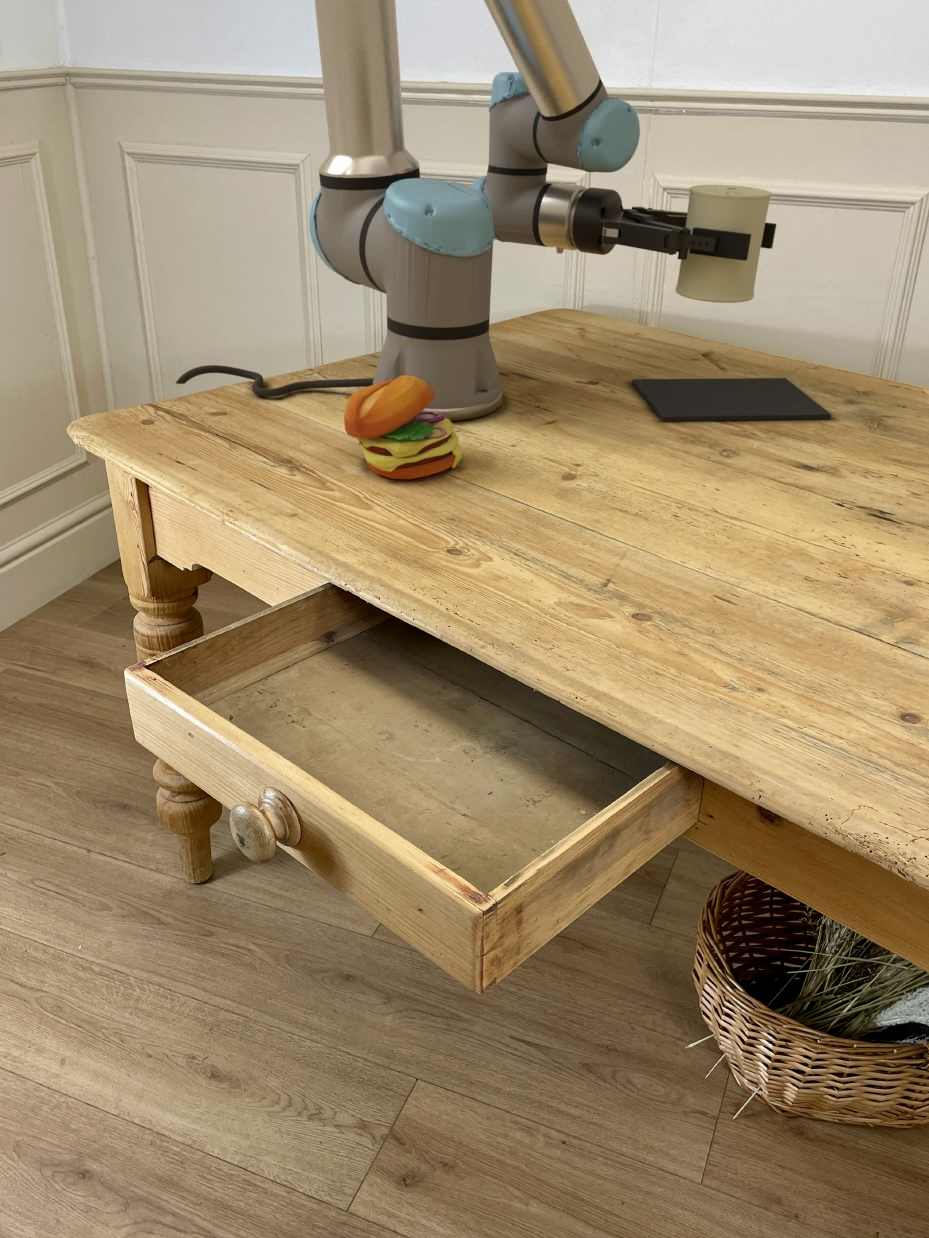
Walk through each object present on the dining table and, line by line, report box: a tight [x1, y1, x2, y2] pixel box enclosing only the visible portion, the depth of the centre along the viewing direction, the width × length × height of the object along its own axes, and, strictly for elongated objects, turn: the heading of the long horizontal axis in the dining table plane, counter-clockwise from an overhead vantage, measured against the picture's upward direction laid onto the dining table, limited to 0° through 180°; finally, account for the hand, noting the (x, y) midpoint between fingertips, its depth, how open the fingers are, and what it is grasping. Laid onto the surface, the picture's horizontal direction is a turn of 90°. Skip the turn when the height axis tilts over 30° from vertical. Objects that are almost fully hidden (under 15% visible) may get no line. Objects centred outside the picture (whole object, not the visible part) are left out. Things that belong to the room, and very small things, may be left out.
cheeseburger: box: [343, 375, 463, 480], centre depth 98 cm, size 10×11×10 cm
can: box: [675, 184, 772, 304], centre depth 116 cm, size 9×9×12 cm
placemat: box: [631, 377, 832, 422], centre depth 120 cm, size 20×14×1 cm
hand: (761, 241), depth 114 cm, fingers closed on can, 9 cm apart
